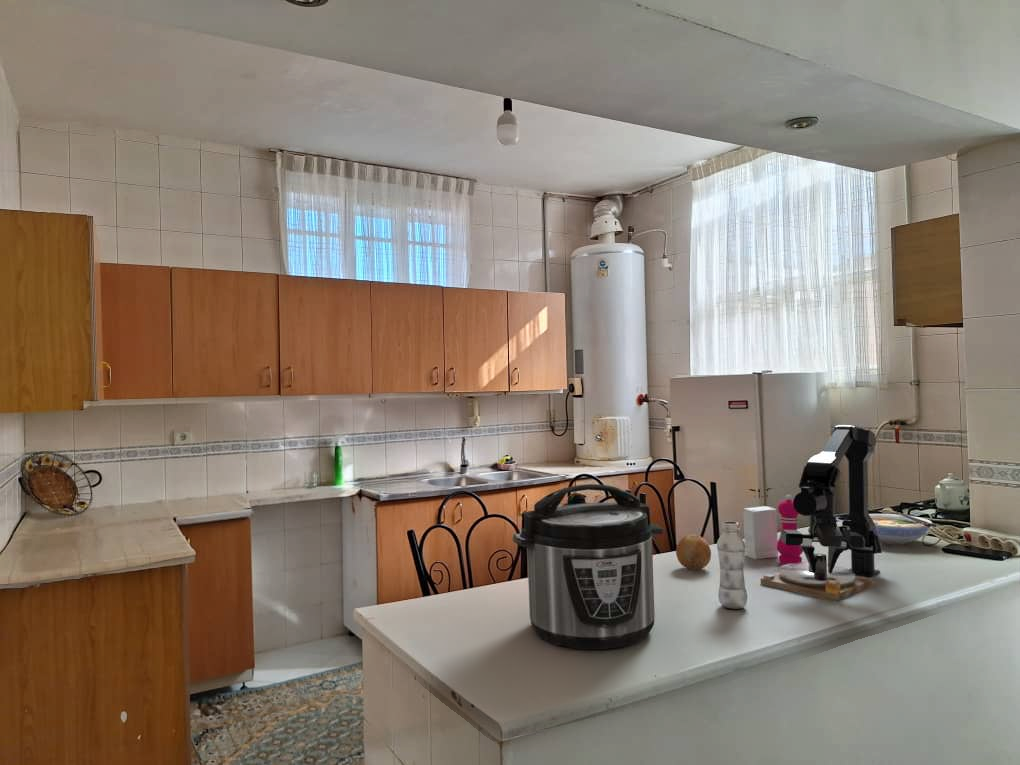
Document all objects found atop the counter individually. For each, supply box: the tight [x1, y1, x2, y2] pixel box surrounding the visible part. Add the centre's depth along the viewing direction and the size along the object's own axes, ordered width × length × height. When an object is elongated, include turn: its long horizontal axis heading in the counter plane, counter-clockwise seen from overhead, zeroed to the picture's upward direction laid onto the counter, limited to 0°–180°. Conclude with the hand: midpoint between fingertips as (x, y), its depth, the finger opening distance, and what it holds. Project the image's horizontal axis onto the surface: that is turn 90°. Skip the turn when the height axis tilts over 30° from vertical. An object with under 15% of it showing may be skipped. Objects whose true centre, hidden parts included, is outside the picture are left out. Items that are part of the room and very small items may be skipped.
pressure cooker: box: [512, 483, 664, 650], centre depth 149 cm, size 30×28×32 cm
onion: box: [675, 533, 712, 571], centre depth 197 cm, size 10×10×10 cm
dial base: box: [760, 571, 874, 602], centre depth 179 cm, size 20×20×4 cm
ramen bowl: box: [869, 511, 937, 546], centre depth 225 cm, size 25×23×8 cm
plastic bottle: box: [716, 520, 748, 610], centre depth 162 cm, size 6×7×20 cm
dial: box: [778, 553, 856, 588], centre depth 179 cm, size 18×18×8 cm
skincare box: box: [742, 505, 779, 560], centre depth 210 cm, size 8×6×15 cm
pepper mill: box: [777, 494, 804, 565], centre depth 202 cm, size 7×7×20 cm
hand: (821, 572), depth 172 cm, fingers open, 4 cm apart
